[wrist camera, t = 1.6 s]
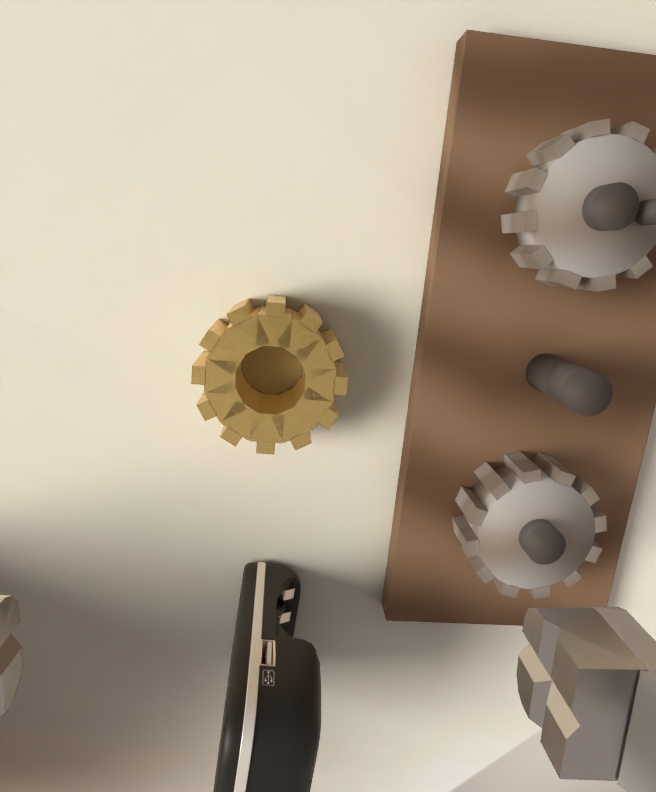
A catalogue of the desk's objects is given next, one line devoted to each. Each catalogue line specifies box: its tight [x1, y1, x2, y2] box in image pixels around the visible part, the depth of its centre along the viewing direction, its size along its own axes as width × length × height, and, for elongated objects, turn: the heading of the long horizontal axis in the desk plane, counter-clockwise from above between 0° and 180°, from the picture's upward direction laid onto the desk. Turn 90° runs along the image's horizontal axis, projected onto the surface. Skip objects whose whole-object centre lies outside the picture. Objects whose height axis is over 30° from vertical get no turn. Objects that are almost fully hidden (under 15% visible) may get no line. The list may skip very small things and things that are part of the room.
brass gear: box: [191, 295, 348, 454], centre depth 27 cm, size 7×7×4 cm
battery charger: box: [213, 562, 321, 792], centre depth 26 cm, size 7×4×11 cm, turn 171°
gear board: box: [382, 30, 656, 626], centre depth 26 cm, size 28×12×6 cm, turn 175°
